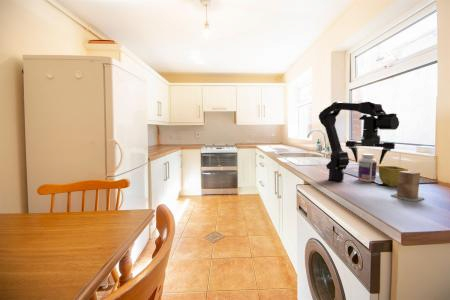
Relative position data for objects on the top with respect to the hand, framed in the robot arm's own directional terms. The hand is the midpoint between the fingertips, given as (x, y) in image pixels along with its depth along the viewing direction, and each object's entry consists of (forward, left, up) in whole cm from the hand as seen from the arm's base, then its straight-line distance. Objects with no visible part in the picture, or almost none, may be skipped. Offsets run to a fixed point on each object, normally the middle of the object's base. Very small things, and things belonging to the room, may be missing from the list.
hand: (367, 163), depth 104 cm
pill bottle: (-2, +19, -12) cm, 23 cm away
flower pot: (+9, +16, -12) cm, 22 cm away
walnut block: (+15, -6, -11) cm, 20 cm away
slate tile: (+15, -6, -12) cm, 20 cm away
